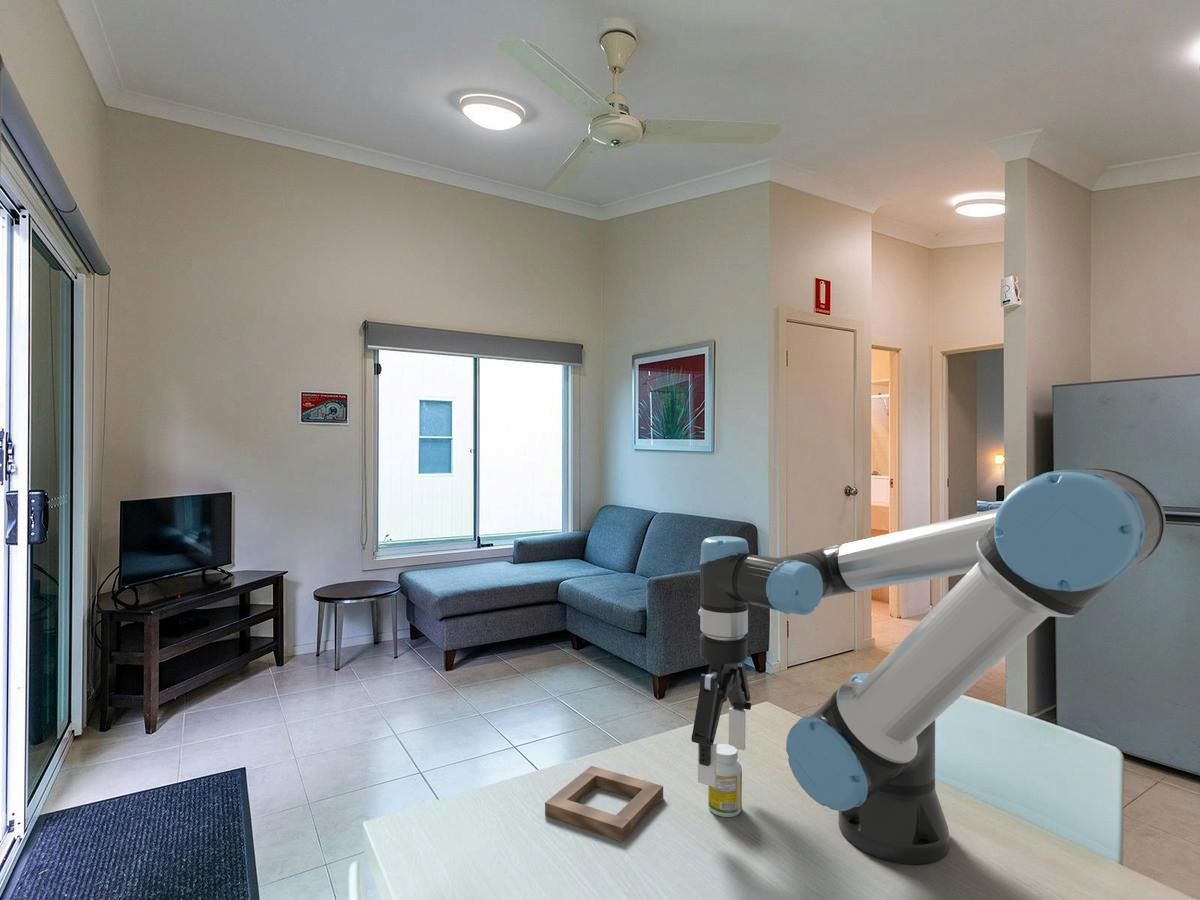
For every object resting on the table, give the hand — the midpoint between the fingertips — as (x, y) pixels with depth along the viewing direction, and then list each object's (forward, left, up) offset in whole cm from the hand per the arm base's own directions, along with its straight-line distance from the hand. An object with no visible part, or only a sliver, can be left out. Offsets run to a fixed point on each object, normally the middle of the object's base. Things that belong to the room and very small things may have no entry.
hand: (722, 765), depth 106 cm
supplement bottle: (0, 0, -7) cm, 7 cm away
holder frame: (+17, +9, -7) cm, 20 cm away
